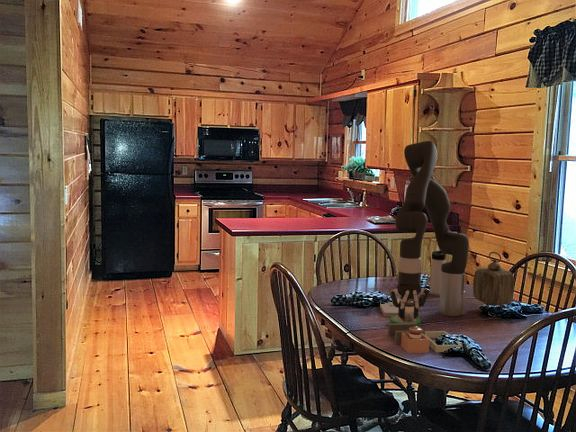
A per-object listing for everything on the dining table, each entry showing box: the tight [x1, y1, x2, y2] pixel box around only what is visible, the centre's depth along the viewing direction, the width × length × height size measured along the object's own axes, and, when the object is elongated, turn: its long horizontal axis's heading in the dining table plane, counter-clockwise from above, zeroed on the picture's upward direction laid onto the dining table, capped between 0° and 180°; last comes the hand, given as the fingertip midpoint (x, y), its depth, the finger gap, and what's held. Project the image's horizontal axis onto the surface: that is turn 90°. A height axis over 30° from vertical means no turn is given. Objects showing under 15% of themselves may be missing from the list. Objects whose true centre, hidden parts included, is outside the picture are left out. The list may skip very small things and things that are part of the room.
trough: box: [425, 330, 463, 353], centre depth 183 cm, size 9×14×3 cm, turn 8°
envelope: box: [379, 297, 420, 319], centre depth 226 cm, size 24×2×14 cm
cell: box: [402, 299, 415, 322], centre depth 185 cm, size 4×4×8 cm
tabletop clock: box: [472, 251, 515, 310], centre depth 222 cm, size 14×9×25 cm, turn 20°
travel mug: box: [429, 249, 447, 297], centre depth 247 cm, size 6×7×20 cm
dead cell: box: [409, 326, 423, 339], centre depth 178 cm, size 4×4×8 cm
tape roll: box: [389, 315, 421, 328], centre depth 204 cm, size 11×11×3 cm
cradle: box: [387, 323, 426, 346], centre depth 188 cm, size 10×11×5 cm
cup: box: [400, 332, 430, 354], centre depth 178 cm, size 7×7×5 cm
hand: (408, 318), depth 186 cm, fingers closed on cell, 4 cm apart
